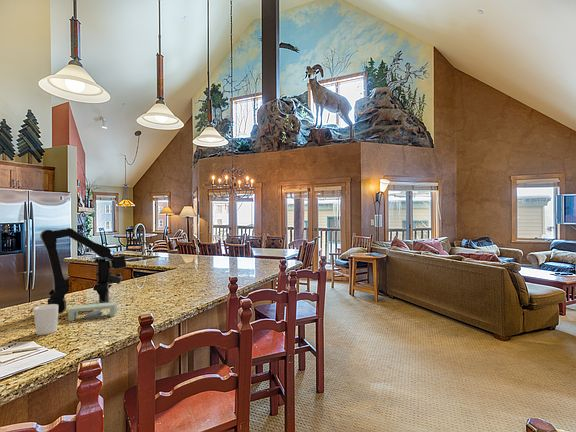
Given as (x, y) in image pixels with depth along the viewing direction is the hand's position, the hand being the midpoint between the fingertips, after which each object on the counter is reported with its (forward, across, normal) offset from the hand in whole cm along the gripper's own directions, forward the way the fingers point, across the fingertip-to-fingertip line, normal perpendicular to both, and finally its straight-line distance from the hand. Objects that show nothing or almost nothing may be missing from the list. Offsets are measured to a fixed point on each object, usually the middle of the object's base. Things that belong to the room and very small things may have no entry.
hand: (104, 300), depth 172 cm
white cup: (+2, -40, +13) cm, 42 cm away
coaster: (+2, -24, 0) cm, 24 cm away
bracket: (+2, -24, 0) cm, 24 cm away
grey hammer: (+1, -9, 0) cm, 9 cm away
